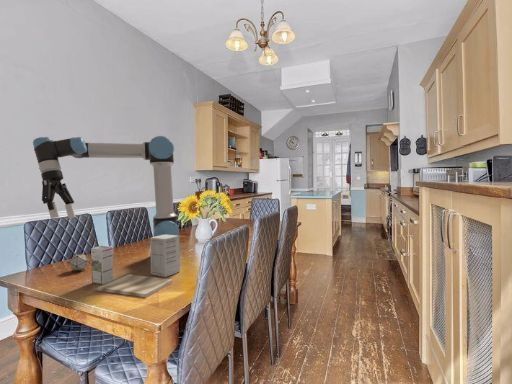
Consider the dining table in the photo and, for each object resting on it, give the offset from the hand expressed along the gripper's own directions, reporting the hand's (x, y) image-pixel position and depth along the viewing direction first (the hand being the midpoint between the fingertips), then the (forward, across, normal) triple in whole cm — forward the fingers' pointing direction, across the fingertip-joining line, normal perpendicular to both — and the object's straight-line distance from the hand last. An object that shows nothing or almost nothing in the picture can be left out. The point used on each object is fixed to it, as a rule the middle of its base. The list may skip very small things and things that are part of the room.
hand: (63, 217), depth 121 cm
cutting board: (+37, +15, +26) cm, 47 cm away
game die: (+25, -10, -4) cm, 27 cm away
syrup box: (+31, +8, +11) cm, 34 cm away
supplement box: (+37, -1, +34) cm, 51 cm away
